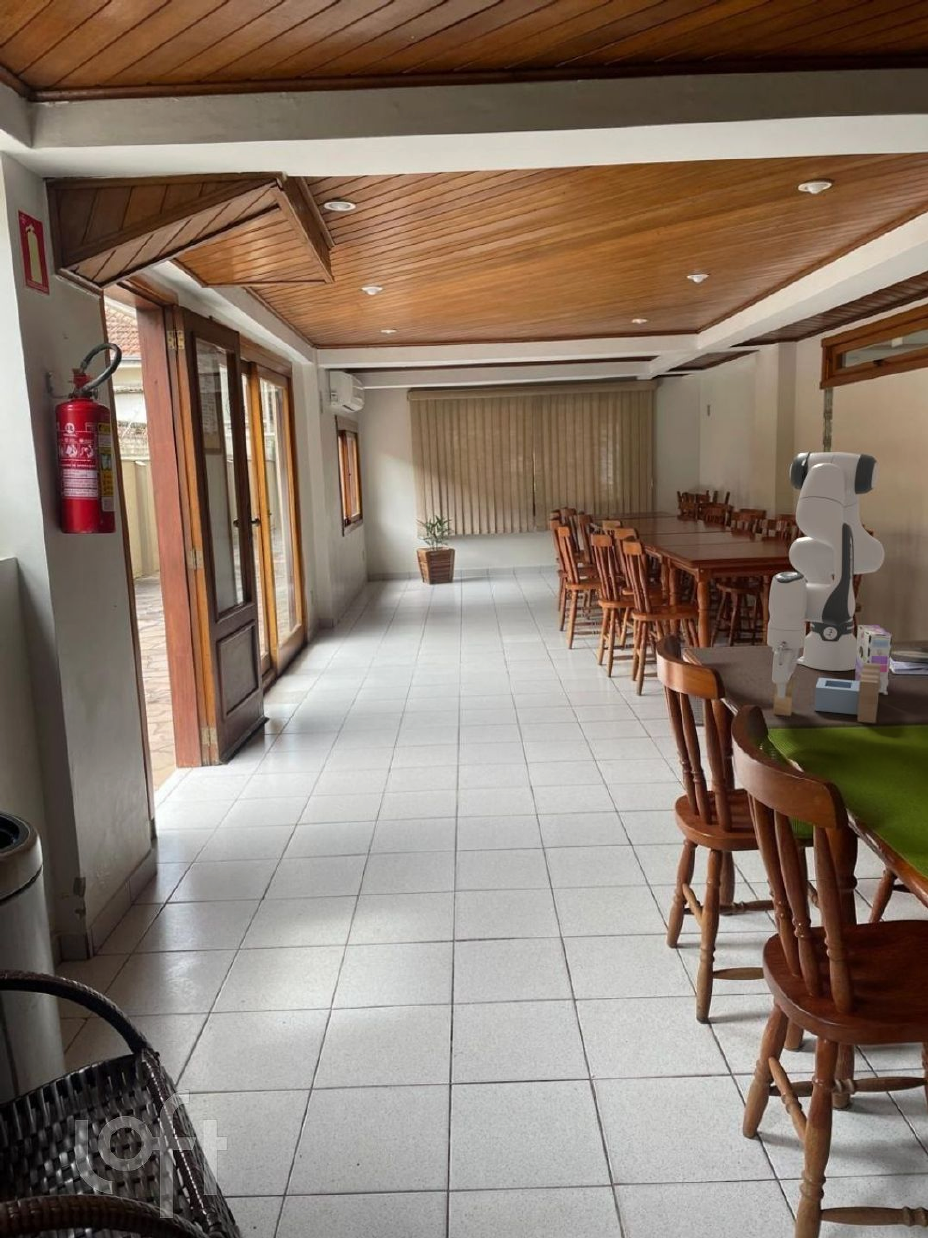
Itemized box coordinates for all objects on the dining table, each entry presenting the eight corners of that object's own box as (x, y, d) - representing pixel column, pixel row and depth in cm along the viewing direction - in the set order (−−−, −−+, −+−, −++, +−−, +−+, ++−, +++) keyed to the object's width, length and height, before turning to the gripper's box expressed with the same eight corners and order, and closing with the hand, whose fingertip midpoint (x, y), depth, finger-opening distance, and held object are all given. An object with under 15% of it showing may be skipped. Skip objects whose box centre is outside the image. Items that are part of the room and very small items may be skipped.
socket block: (817, 699, 234) (819, 677, 233) (859, 703, 230) (860, 681, 229) (814, 710, 225) (815, 687, 224) (857, 714, 221) (859, 691, 220)
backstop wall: (861, 699, 234) (863, 662, 232) (878, 701, 232) (880, 663, 230) (857, 721, 216) (859, 681, 215) (875, 723, 215) (878, 682, 213)
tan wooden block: (775, 709, 227) (777, 671, 226) (792, 711, 226) (793, 672, 224) (773, 713, 224) (775, 675, 222) (790, 715, 222) (792, 676, 220)
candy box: (888, 695, 237) (892, 634, 234) (865, 694, 239) (868, 634, 236) (876, 681, 251) (879, 624, 248) (853, 681, 252) (857, 623, 249)
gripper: (795, 648, 211) (792, 704, 213) (804, 631, 229) (801, 683, 231) (766, 646, 213) (764, 702, 216) (778, 629, 231) (775, 681, 234)
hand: (783, 692), depth 224 cm, fingers open, 8 cm apart
